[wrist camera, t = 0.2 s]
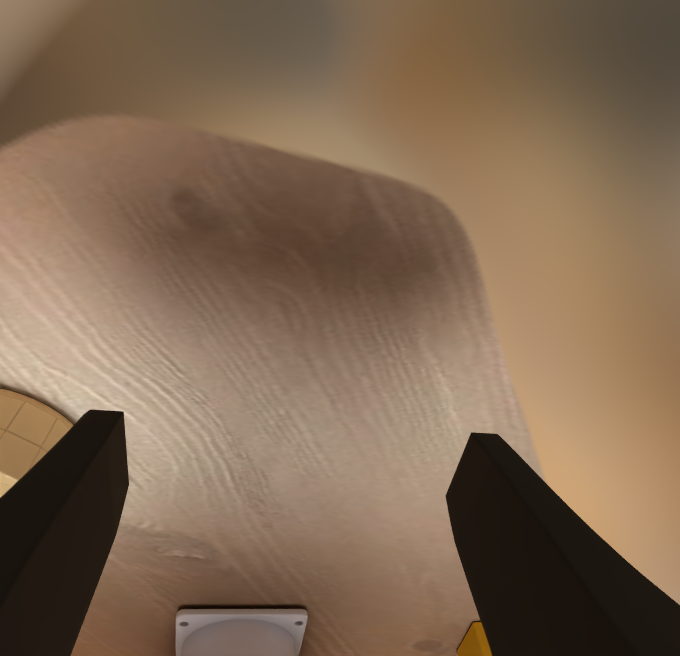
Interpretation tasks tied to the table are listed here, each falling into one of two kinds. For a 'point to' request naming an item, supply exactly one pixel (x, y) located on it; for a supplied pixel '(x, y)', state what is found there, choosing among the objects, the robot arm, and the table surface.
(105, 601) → the table surface
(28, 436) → the bowl
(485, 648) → the sponge
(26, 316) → the table surface
